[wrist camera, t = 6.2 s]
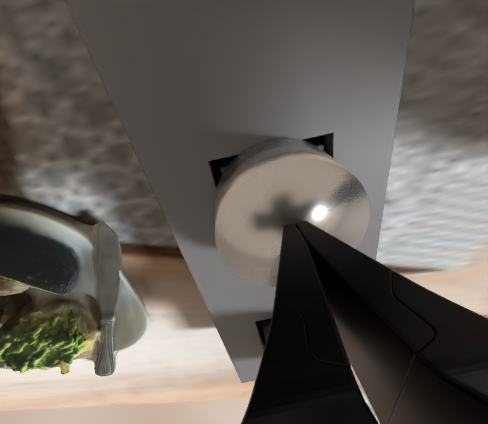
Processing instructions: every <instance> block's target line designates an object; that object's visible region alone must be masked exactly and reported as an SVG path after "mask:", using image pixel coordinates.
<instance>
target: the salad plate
mask: <svg viewBox="0 0 488 424" xmlns="http://www.w3.org/2000/svg"><path fill="white" fill-rule="evenodd" d="M121 268H122V252H121V247H120V242H119V237H118V235H117V234H116V233H115V232H114V231H113V230H112V229H111V228H109V226H108V225H107V224H105V223H104V221H102V222H99V223H98V224H95V225H94V226H91V225H88V224H85V223H82V222H79V221H77V220H75V219H73V218H71V217H69V216H67V215H65V214H63V213H60V212H58V211H55V210H52V209H49V208H47V207H44V206H40V205H36V204H31V203H26V202H17V201H0V323H2V324H3V326H2V327H1V328H0V368H3V369H12V370H13V371H14V372H15V371H20V372H21V373H23V372H24V371H28V370H30V369H37V368H38V369H42V370H48V369H50V368H53V367H60V368H61V374H66V373H68V372H69V370H70V369H69V365H70V364H71V363H72V360H75V359H80V358H90V359H93V361H94V364H95V368H94V369H95V373H96V375H99V376H108V375H111V374H113V372H114V370H115V368H116V356H117V353H118V351H120V350H123V349H125V348H128V347H130V346H132V345H134V344H135V343H137V342H138V341H139V340H140V339H141V338H142V336H143V335H144V334H145V332H146V331H147V329H148V326H149V315H148V313H147V311H146V308H145V305H144V303H143V301H142V299H141V297H140V295H139V294H138V293H137V292H136V290H135V289H134V287H133V286H132V284H131V282H130V281H129V279H128V278H127V276H126V275H125V273H124V272H123V271H122V269H121ZM87 294H88V295H91V296H92V297H90V296H88V295H87Z"/></svg>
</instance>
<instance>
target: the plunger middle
mask: <svg viewBox="0 0 488 424" xmlns="http://www.w3.org/2000/svg"><path fill="white" fill-rule="evenodd" d="M220 169H221V172H222V175H221V177H220V179H219V182H218V184H217V188H216V192H215V241H216V246H217V250H218V253H219V255H220V257H221V259H222V261H223V262H224V264H225V265H226V266H227V267H228V268H229V269H230V270H231V271H232V272H233V273H234V274H236V275H237V276H239V277H240V278H242V279H244V280H246V281H248V282H251V283H254V284H257V285H262V286H269V287H276V283H277V274H278V266H279V258H280V250H281V242H282V233H283V227H284V226H285V225H289V224H296V223H298V222H302V221H308V222H310V223H311V224H313V225H315V226H317V227H318V228H320V229H322V230H324V231H325V232H327V233H329V234H331V235H332V236H334V237H336V238H338V239H339V240H341V241H343V242H345V243H346V244H348V245H350V246H351V247H353V248H355V249H356V248H357V247H358V245H359V244H360V242H361V241H362V239H363V237H364V235H365V232H366V229H367V226H368V222H369V217H370V206H369V200H368V196H367V193H366V191H365V189H364V187H363V185H362V184H361V183H360V181H359V180H358V179H357V178H356V177H355V176H354V175H353V174H352V173H351V172H349V171H348V170H347V169H346V168H344V167H343V166H342V165H341V164H339V163H338V162H337V161H336V160H335V159H333V158H332V157H331V156H330V155H328V154H327V153H326V152H325V151H324V145H323V144H322V143H321V142H319V141H318V140H317V139H315V138H314V137H311V138H307V139H303V140H301V139H297V138H275V139H269V140H266V141H262V142H260V143H257V144H255V145H253V146H251V147H249V148H247V149H246V150H244V151H243V152H241V153H240V154H238V155H233V156H229V157H225V158H220Z"/></svg>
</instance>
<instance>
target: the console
mask: <svg viewBox="0 0 488 424" xmlns="http://www.w3.org/2000/svg"><path fill="white" fill-rule="evenodd" d="M65 2H66V4H67V6H68V9H69V11H70V13H71V15H72V17H73V19H74V22H75V24H76V26H77V28H78V30H79V32H80V35H81V37H82V39H83V41H84V43H85V45H86V47H87V50H88V52H89V54H90V56H91V58H92V60H93V63H94V65H95V67H96V69H97V71H98V73H99V76H100V78H101V80H102V82H103V84H104V86H105V89H106V91H107V93H108V95H109V97H110V99H111V101H112V104H113V106H114V108H115V110H116V112H117V114H118V117H119V119H120V121H121V123H122V125H123V127H124V130H125V132H126V134H127V136H128V138H129V140H130V143H131V145H132V147H133V149H134V151H135V153H136V155H137V158H138V160H139V162H140V164H141V166H142V168H143V171H144V173H145V175H146V177H147V179H148V181H149V184H150V186H151V188H152V190H153V192H154V194H155V197H156V199H157V201H158V203H159V205H160V207H161V209H162V212H163V214H164V216H165V218H166V220H167V222H168V225H169V227H170V229H171V231H172V233H173V235H174V238H175V240H176V242H177V244H178V246H179V248H180V251H181V253H182V255H183V257H184V259H185V261H186V263H187V266H188V268H189V270H190V272H191V274H192V276H193V279H194V281H195V283H196V285H197V287H198V289H199V292H200V294H201V296H202V298H203V300H204V302H205V305H206V307H207V309H208V311H209V313H210V315H211V317H212V320H213V322H214V324H215V326H216V328H217V330H218V333H219V335H220V337H221V339H222V341H223V343H224V346H225V348H226V350H227V352H228V354H229V356H230V359H231V361H232V363H233V365H234V367H235V369H236V372H237V374H238V376H239V378H240V380H241V382H242V383H245V382H249V381H254V380H256V377H257V374H258V370H259V367H260V363H261V359H262V356H263V352H264V349H265V345H266V341H265V336H264V330H263V325H262V320H264V319H269V318H272V312H273V306H274V298H275V291H276V287H269V286H262V285H257V284H254V283H251V282H248V281H246V280H244V279H242V278H240V277H239V276H237V275H236V274H234V273H233V272H232V271H231V270H230V269H229V268H228V267H227V266H226V265H225V264H224V262H223V261H222V259H221V257H220V255H219V253H218V250H217V246H216V241H215V192H216V188H217V181H216V178H215V174H214V171H213V167H212V164H211V161H212V160H216V159H220V158H225V157H229V156H233V155H238V154H240V153H241V152H243V151H244V150H246V149H247V148H249V147H251V146H253V145H255V144H257V143H260V142H262V141H266V140H269V139H275V138H297V139H301V140H303V139H307V138H311V137H316V136H320V135H324V151H325V152H326V153H327V154H328V155H330V156H331V157H332V158H333V159H335V160H336V161H337V162H338V163H339V164H341V165H342V166H343V167H344V168H346V169H347V170H348V171H349V172H351V173H352V174H353V175H354V176H355V177H356V178H357V179H358V180H359V181H360V183H361V184H362V185H363V187H364V189H365V191H366V193H367V196H368V200H369V206H370V217H369V222H368V226H367V229H366V232H365V235H364V237H363V239H362V241H361V242H360V244H359V245H358V247H357V248H356V249H357V250H358V251H360V252H362V253H364V254H365V255H367V256H369V257H371V258H372V259H374V260H376V254H377V248H378V241H379V235H380V228H381V221H382V215H383V208H384V202H385V195H386V188H387V182H388V175H389V169H390V162H391V155H392V149H393V142H394V136H395V129H396V122H397V116H398V109H399V103H400V96H401V89H402V83H403V76H404V70H405V63H406V56H407V50H408V43H409V37H410V30H411V23H412V17H413V10H414V4H415V0H65Z"/></svg>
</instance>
